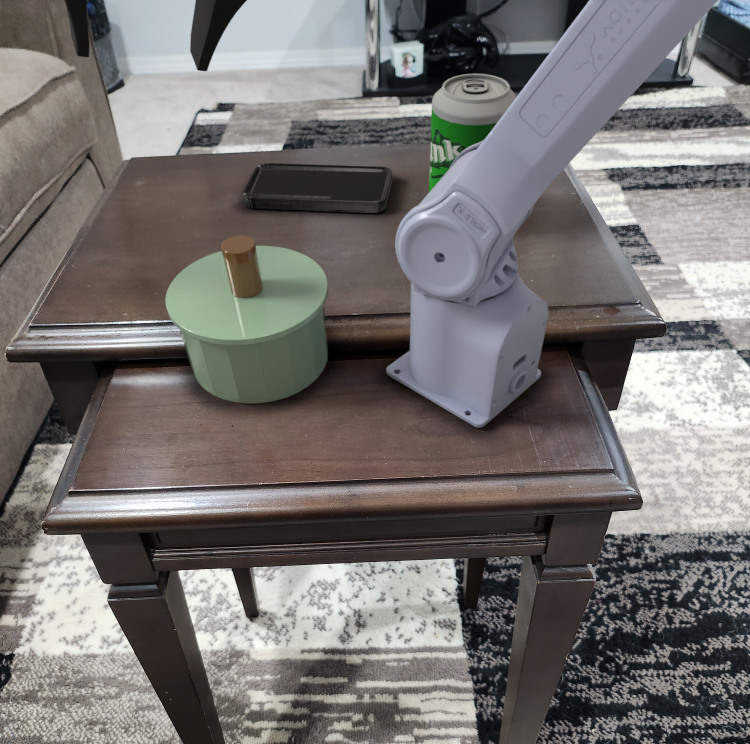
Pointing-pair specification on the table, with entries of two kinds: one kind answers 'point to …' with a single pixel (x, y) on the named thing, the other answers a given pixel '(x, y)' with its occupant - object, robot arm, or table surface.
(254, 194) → the phone
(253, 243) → the pot lid
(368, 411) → the table surface
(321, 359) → the pot
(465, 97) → the soda can
